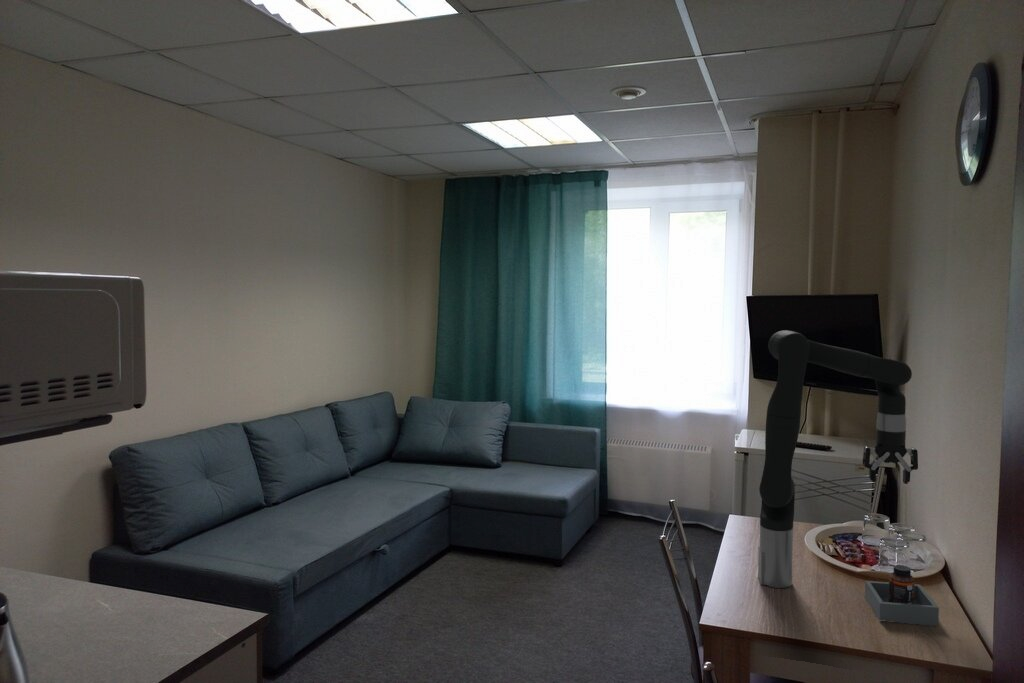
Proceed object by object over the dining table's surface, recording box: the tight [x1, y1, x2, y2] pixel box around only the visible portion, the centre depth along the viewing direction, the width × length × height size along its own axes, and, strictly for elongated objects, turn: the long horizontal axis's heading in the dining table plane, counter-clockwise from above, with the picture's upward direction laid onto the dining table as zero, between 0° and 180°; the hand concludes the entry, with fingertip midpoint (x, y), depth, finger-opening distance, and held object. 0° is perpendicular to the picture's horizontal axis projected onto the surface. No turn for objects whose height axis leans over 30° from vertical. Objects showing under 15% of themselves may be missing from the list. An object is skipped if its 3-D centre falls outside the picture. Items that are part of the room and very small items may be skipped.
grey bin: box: [864, 580, 940, 627], centre depth 191 cm, size 14×14×5 cm
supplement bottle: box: [888, 564, 915, 604], centre depth 190 cm, size 6×6×11 cm
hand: (889, 482), depth 207 cm, fingers open, 8 cm apart
